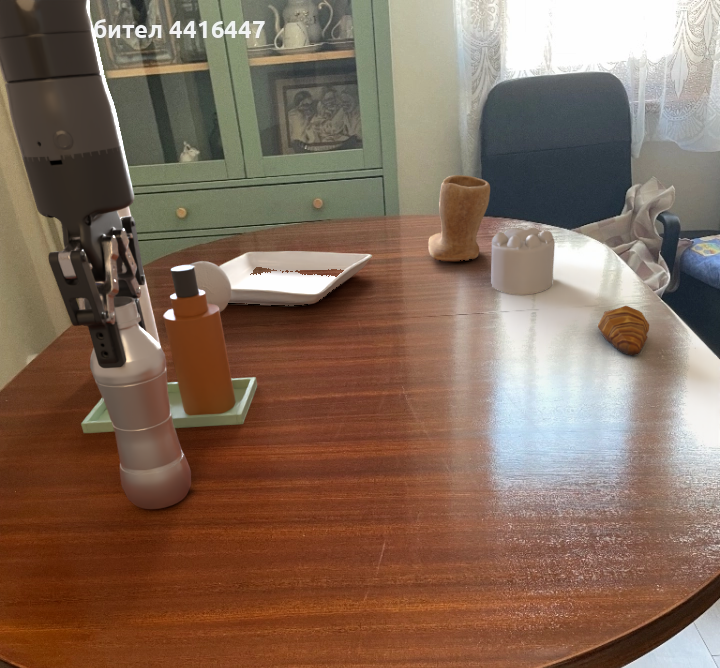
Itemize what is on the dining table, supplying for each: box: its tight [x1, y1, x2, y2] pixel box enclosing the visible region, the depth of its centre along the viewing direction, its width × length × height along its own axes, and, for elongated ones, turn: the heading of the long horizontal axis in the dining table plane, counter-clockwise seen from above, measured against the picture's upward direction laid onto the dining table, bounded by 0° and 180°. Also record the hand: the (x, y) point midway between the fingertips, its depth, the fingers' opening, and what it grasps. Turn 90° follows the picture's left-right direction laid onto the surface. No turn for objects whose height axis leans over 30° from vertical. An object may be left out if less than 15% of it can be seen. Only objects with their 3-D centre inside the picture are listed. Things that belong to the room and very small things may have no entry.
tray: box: [80, 376, 258, 434], centre depth 90 cm, size 19×11×2 cm, turn 88°
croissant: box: [597, 305, 650, 356], centre depth 98 cm, size 14×7×5 cm, turn 174°
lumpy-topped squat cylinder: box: [490, 227, 556, 296], centre depth 124 cm, size 10×13×9 cm
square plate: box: [217, 250, 373, 307], centre depth 134 cm, size 27×27×4 cm
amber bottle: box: [162, 264, 236, 415], centre depth 86 cm, size 6×6×17 cm
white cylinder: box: [189, 260, 231, 313], centre depth 98 cm, size 7×7×15 cm
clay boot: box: [427, 174, 491, 262], centre depth 142 cm, size 15×12×15 cm
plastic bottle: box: [89, 297, 192, 510], centre depth 67 cm, size 6×7×20 cm
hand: (124, 352), depth 64 cm, fingers closed on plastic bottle, 5 cm apart
